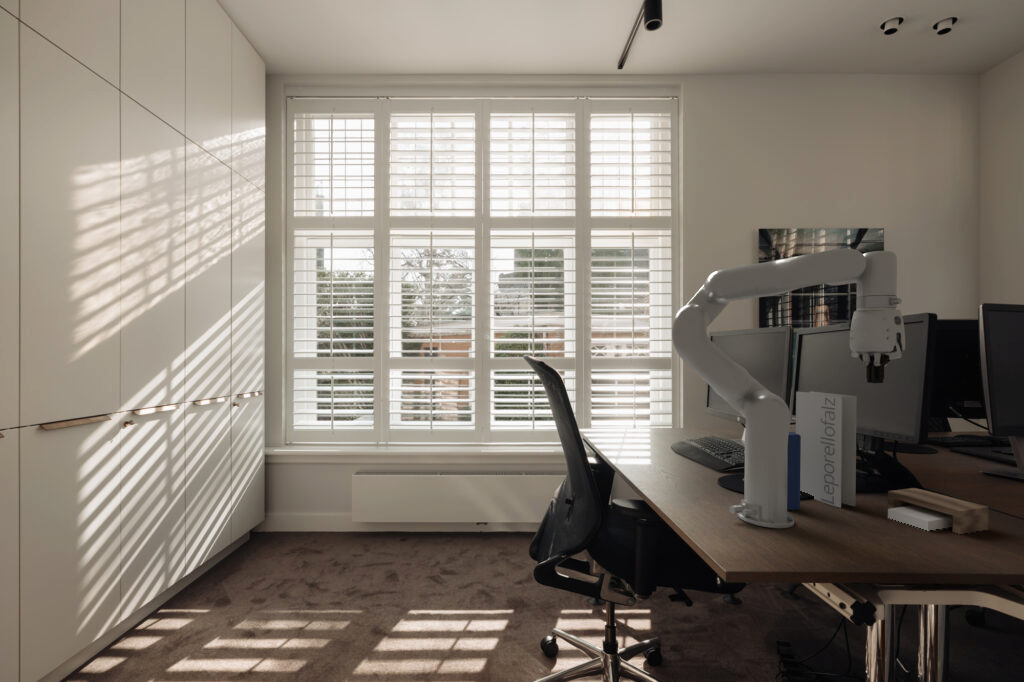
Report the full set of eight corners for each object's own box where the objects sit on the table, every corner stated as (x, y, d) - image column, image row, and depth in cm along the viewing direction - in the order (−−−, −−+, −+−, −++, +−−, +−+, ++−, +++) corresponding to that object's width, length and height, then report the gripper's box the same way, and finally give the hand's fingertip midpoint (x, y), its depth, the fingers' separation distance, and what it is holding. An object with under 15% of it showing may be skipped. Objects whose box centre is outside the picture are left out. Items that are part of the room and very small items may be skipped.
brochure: (794, 492, 144) (796, 391, 145) (808, 491, 146) (810, 391, 146) (840, 508, 131) (841, 396, 131) (855, 506, 133) (856, 396, 133)
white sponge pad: (927, 531, 115) (927, 521, 115) (887, 518, 124) (887, 508, 124) (966, 525, 120) (966, 515, 120) (924, 512, 128) (924, 503, 128)
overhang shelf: (960, 534, 113) (960, 511, 113) (887, 511, 128) (887, 491, 128) (988, 529, 117) (988, 506, 117) (914, 508, 132) (914, 487, 132)
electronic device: (802, 509, 129) (803, 434, 129) (784, 510, 128) (785, 434, 128) (777, 498, 138) (777, 428, 139) (760, 499, 138) (761, 428, 138)
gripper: (922, 303, 108) (921, 385, 108) (855, 307, 122) (854, 380, 122) (899, 301, 106) (898, 385, 106) (834, 306, 120) (833, 380, 120)
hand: (875, 382), depth 114 cm, fingers closed
